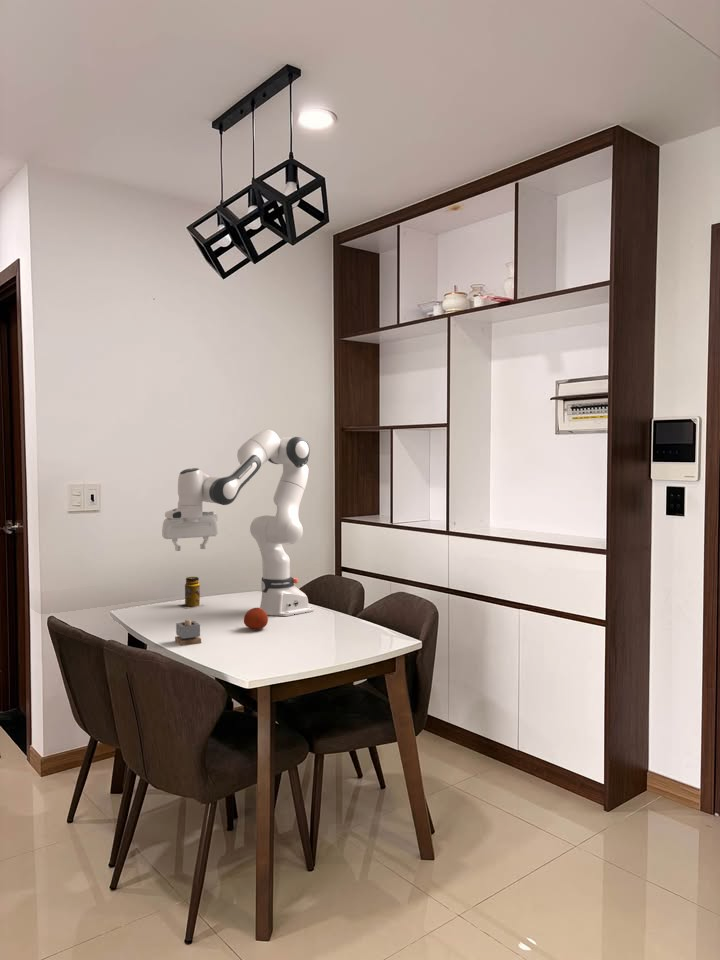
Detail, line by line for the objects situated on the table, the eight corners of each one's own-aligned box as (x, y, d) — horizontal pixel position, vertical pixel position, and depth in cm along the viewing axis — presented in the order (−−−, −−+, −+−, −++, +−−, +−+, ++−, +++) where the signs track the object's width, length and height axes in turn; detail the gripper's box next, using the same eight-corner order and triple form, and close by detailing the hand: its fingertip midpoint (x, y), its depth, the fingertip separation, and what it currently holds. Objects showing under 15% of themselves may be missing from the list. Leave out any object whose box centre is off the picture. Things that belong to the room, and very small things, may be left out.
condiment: (203, 605, 311) (203, 577, 310) (186, 608, 305) (185, 580, 305) (194, 603, 316) (194, 575, 316) (177, 606, 310) (176, 577, 310)
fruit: (241, 627, 275) (241, 606, 274) (264, 625, 278) (264, 604, 277) (246, 633, 266) (246, 611, 266) (270, 631, 270) (270, 609, 269)
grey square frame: (194, 632, 259) (194, 620, 258) (200, 636, 253) (200, 624, 253) (176, 634, 255) (176, 623, 255) (181, 638, 250) (181, 627, 250)
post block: (194, 638, 259) (194, 617, 259) (201, 643, 253) (201, 621, 253) (175, 640, 255) (174, 619, 255) (181, 645, 249) (180, 623, 249)
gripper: (214, 510, 280) (214, 546, 281) (160, 512, 270) (160, 550, 270) (220, 512, 275) (220, 548, 275) (165, 514, 264) (165, 552, 265)
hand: (190, 549), depth 273 cm, fingers open, 8 cm apart
